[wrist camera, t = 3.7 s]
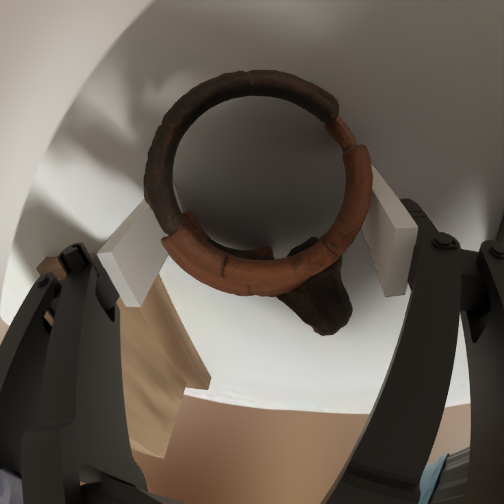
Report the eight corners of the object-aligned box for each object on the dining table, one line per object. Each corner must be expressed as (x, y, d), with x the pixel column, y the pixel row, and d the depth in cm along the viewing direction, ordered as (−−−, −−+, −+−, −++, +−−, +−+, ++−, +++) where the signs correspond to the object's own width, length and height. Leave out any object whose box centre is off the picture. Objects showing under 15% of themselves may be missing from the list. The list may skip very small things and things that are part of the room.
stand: (148, 249, 18) (70, 377, 10) (211, 377, 27) (188, 466, 19) (45, 258, 20) (-19, 338, 12) (119, 364, 29) (89, 434, 21)
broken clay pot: (144, 188, 16) (71, 168, 8) (265, 92, 16) (284, 10, 7) (270, 336, 17) (292, 420, 9) (382, 241, 17) (470, 260, 9)
